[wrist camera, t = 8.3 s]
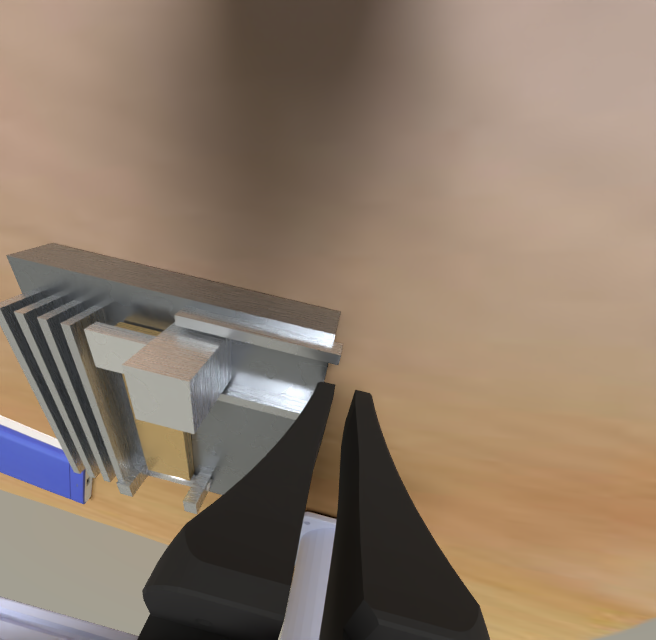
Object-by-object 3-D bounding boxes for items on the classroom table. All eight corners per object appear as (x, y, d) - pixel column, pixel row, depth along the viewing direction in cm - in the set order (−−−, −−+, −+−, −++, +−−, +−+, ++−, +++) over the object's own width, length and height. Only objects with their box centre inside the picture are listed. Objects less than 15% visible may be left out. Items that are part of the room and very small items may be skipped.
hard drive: (-54, 454, 25) (82, 506, 27) (-81, 400, 21) (82, 466, 23) (-33, 438, 27) (96, 490, 28) (-53, 385, 22) (99, 449, 24)
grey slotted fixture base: (304, 485, 21) (290, 546, 18) (115, 436, 21) (68, 485, 18) (349, 313, 13) (339, 364, 10) (52, 243, 14) (-49, 269, 11)
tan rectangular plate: (195, 471, 18) (189, 480, 18) (154, 461, 19) (147, 469, 18) (179, 336, 13) (170, 344, 12) (120, 321, 13) (109, 328, 12)
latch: (231, 378, 14) (194, 434, 11) (125, 352, 14) (63, 400, 11) (231, 331, 12) (189, 381, 10) (113, 302, 12) (39, 343, 10)
